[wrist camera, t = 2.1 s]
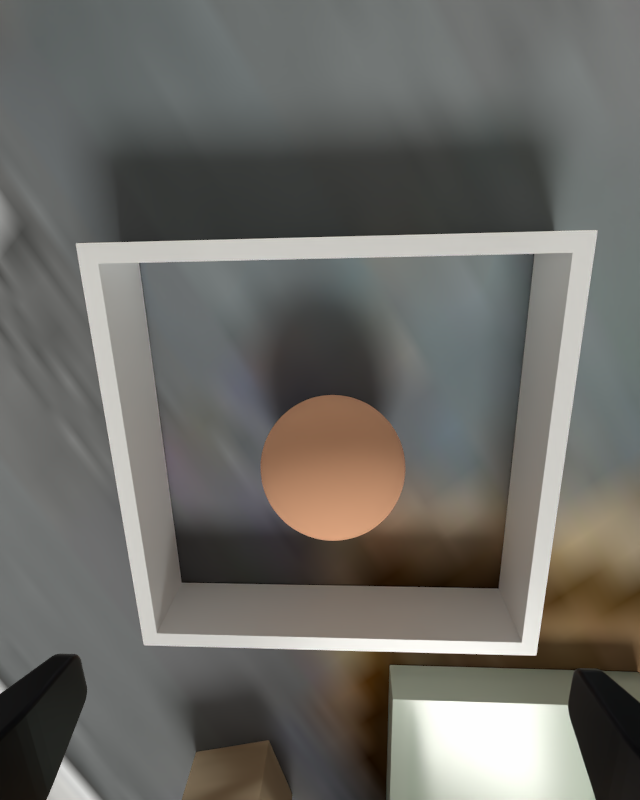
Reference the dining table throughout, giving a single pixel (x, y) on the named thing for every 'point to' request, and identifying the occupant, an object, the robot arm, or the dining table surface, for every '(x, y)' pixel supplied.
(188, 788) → the oak cube
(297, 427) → the ball
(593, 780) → the robot arm
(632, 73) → the dining table surface
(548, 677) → the dish
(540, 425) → the open rectangular frame
